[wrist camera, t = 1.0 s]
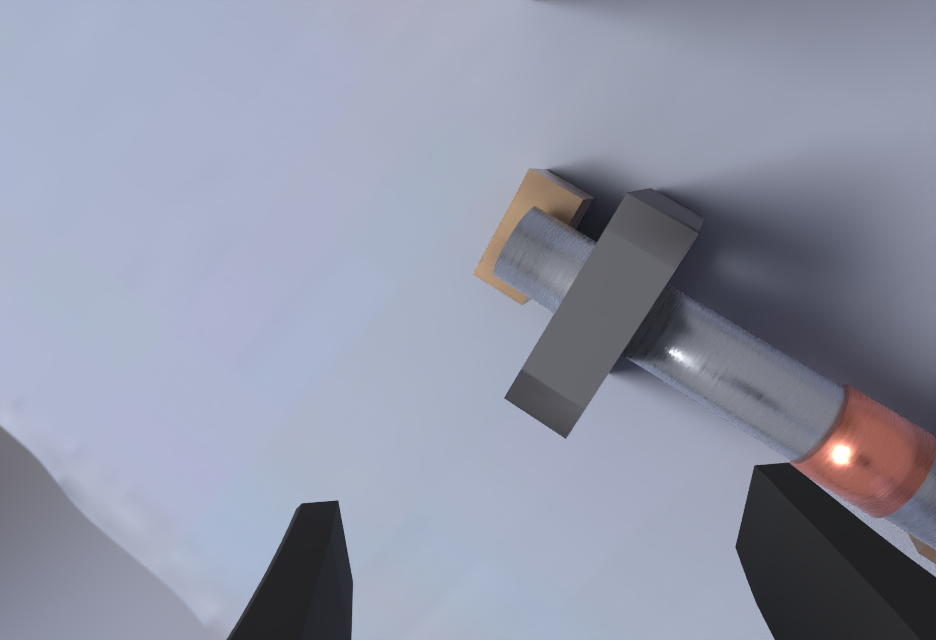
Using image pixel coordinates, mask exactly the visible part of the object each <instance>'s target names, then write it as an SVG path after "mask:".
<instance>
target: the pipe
mask: <svg viewBox="0 0 936 640" xmlns="http://www.w3.org/2000/svg"><path fill="white" fill-rule="evenodd" d="M594 198H595V197H593V196H591V195H589V194H588V193H586V192H584V191H583V190H581V189H579V188H577V187H576V186H574V185H572V184H570V183H569V182H567V181H565V180H564V179H562V178H560V177H558V176H557V175H555V174H553V173H551V172H550V171H548V170H546V169H529V171H528V172H527V174H526V176H525V178H524V180H523V182H522V184H521V185H520V187H519V189H518V191H517V193H516V195H515V197H514V198H513V200H512V202H511V204H510V206H509V208H508V210H507V211H506V213H505V215H504V217H503V219H502V221H501V223H500V224H499V226H498V228H497V230H496V232H495V234H494V236H493V237H492V239H491V241H490V243H489V245H488V247H487V249H486V251H485V252H484V254H483V256H482V258H481V260H480V262H479V264H478V265H477V267H476V269H475V271H474V273H473V275H475V276H476V277H478V278H480V279H481V280H483V281H484V282H486V283H488V284H489V285H491V286H492V287H494V288H496V289H497V290H499V291H500V292H502V293H504V294H505V295H507V296H508V297H510V298H512V299H513V300H515V301H516V302H518V303H520V304H521V305H523V304H525V303H526V302H528V301H529V300H531V299H532V300H534V301H536V302H537V303H539V304H540V305H542V306H544V307H545V308H547V309H548V310H550V311H552V312H553V313H555V312H556V310H557V309H558V307H559V305H560V304H561V302H562V300H563V299H564V297H565V295H566V294H567V292H568V290H569V289H570V287H571V285H572V284H573V282H574V280H575V279H576V277H577V275H578V274H579V272H580V270H581V269H582V267H583V265H584V264H585V262H586V260H587V258H588V257H589V255H590V253H591V252H592V250H593V248H594V247H595V245H596V243H597V242H596V241H594V240H592V239H590V238H589V237H587V236H585V235H584V234H582V233H580V232H579V231H577V230H576V229H577V227H578V225H579V224H580V222H581V220H582V219H583V217H584V215H585V213H586V212H587V210H588V208H589V206H590V205H591V203H592V201H593V200H594ZM621 355H623V356H624V357H626V358H627V359H629V360H631V361H632V362H634V363H635V364H637V365H639V366H640V367H642V368H643V369H645V370H647V371H648V372H650V373H651V374H653V375H655V376H656V377H658V378H660V379H661V380H663V381H664V382H666V383H668V384H669V385H671V386H672V387H674V388H676V389H677V390H679V391H680V392H682V393H684V394H685V395H687V396H688V397H690V398H692V399H693V400H695V401H697V402H698V403H700V404H701V405H703V406H705V407H706V408H708V409H709V410H711V411H713V412H714V413H716V414H717V415H719V416H721V417H722V418H724V419H726V420H727V421H729V422H730V423H732V424H734V425H735V426H737V427H738V428H740V429H742V430H743V431H745V432H746V433H748V434H750V435H751V436H753V437H754V438H756V439H758V440H759V441H761V442H763V443H764V444H766V445H767V446H769V447H771V448H772V449H774V450H775V451H777V452H779V453H780V454H782V455H783V456H785V457H787V458H788V459H790V464H791V465H793V466H794V467H795V468H796V469H798V470H799V471H800V472H802V473H803V474H804V475H806V476H807V477H809V478H810V479H812V480H814V481H815V482H817V483H818V484H820V485H822V486H823V487H825V488H826V489H828V490H830V491H831V492H833V493H835V494H836V495H838V496H839V497H841V498H843V499H844V500H846V501H847V502H849V503H851V504H852V505H854V506H855V507H857V508H859V509H860V510H862V511H863V512H865V513H867V514H868V515H870V516H872V517H874V518H882V517H883V518H885V519H886V520H888V521H890V522H891V523H893V524H894V525H896V526H898V527H899V528H901V529H903V530H904V531H906V532H907V533H908V534H909V536H910V538H911V540H912V542H913V543H914V545H915V547H916V549H917V551H918V553H919V554H921V555H923V556H924V557H926V558H927V559H929V560H931V561H932V562H934V563H935V564H936V438H935V436H934V435H933V434H931V433H930V432H928V431H926V430H925V429H923V428H921V427H919V426H918V425H916V424H914V423H913V422H911V421H909V420H908V419H906V418H904V417H902V416H901V415H899V414H897V413H896V412H894V411H892V410H891V409H889V408H887V407H886V406H884V405H882V404H880V403H879V402H877V401H875V400H874V399H872V398H870V397H869V396H867V395H865V394H863V393H862V392H860V391H858V390H857V389H855V388H853V387H852V386H850V385H844V386H839V385H837V384H836V383H834V382H832V381H831V380H829V379H827V378H826V377H824V376H822V375H821V374H819V373H817V372H815V371H814V370H812V369H810V368H809V367H807V366H805V365H804V364H802V363H800V362H799V361H797V360H795V359H793V358H792V357H790V356H788V355H787V354H785V353H783V352H782V351H780V350H778V349H777V348H775V347H773V346H771V345H770V344H768V343H766V342H765V341H763V340H761V339H760V338H758V337H756V336H755V335H753V334H751V333H749V332H748V331H746V330H744V329H743V328H741V327H739V326H738V325H736V324H734V323H733V322H731V321H729V320H727V319H726V318H724V317H722V316H721V315H719V314H717V313H716V312H714V311H712V310H711V309H709V308H707V307H705V306H704V305H702V304H700V303H699V302H697V301H695V300H694V299H692V298H690V297H689V296H687V295H685V294H683V293H682V292H680V291H678V290H677V289H675V288H673V287H672V286H670V285H668V284H666V286H665V287H664V289H663V290H662V292H661V293H660V295H659V296H658V298H657V299H656V301H655V302H654V304H653V306H652V307H651V309H650V310H649V312H648V313H647V315H646V316H645V318H644V319H643V321H642V322H641V324H640V326H639V327H638V329H637V330H636V332H635V333H634V335H633V336H632V338H631V339H630V341H629V342H628V344H627V346H626V347H625V349H624V350H623V352H622V353H621Z"/></svg>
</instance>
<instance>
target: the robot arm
mask: <svg viewBox="0 0 936 640" xmlns="http://www.w3.org/2000/svg"><path fill="white" fill-rule="evenodd" d="M736 550H737V553H738V555H739V558H740V561H741V564H742V567H743V569H744V572H745V575H746V578H747V580H748V583H749V586H750V588H751V591H752V593H753V596H754V598H755V601H756V603H757V605H758V607H759V609H760V611H761V613H762V615H763V617H764V619H765V621H766V623H767V625H768V627H769V629H770V631H771V633H772V635H773V637H774V639H775V640H936V577H935V576H933V575H932V574H931V573H929V572H928V571H927V570H925V569H924V568H922V567H921V566H920V565H918V564H917V563H916V562H914V561H913V560H912V559H910V558H909V557H908V556H906V555H905V554H904V553H902V552H901V551H900V550H898V549H897V548H896V547H895V546H893V545H892V544H891V543H889V542H888V541H887V540H885V539H884V538H883V537H882V536H880V535H879V534H878V533H876V532H875V531H874V530H873V529H871V528H870V527H869V526H868V525H866V524H865V523H864V522H863V521H861V520H860V519H859V518H858V517H856V516H855V515H854V514H853V513H851V512H850V511H849V510H848V509H846V508H845V507H844V506H843V505H841V504H840V503H839V502H838V501H836V500H835V499H834V498H833V497H831V496H830V495H829V494H828V493H826V492H825V491H824V490H823V489H822V488H820V487H819V486H818V485H817V484H815V483H814V482H813V481H812V480H810V479H809V478H808V477H807V476H805V475H804V474H803V473H802V472H800V471H799V470H798V469H796V468H795V467H794V466H793V465H791V464H790V463H779V464H767V465H755V466H754V470H753V474H752V479H751V483H750V487H749V492H748V496H747V500H746V504H745V509H744V513H743V517H742V522H741V526H740V530H739V534H738V539H737V543H736ZM352 596H353V580H352V574H351V569H350V563H349V558H348V552H347V547H346V541H345V536H344V530H343V524H342V519H341V513H340V508H339V502H338V501H326V502H314V503H302V504H301V505H300V506H299V507H298V508H297V509H296V511H295V513H294V515H293V518H292V520H291V522H290V525H289V527H288V529H287V531H286V533H285V535H284V537H283V540H282V542H281V544H280V546H279V548H278V550H277V552H276V554H275V556H274V558H273V559H272V561H271V563H270V565H269V567H268V569H267V571H266V573H265V575H264V577H263V578H262V580H261V582H260V584H259V586H258V587H257V589H256V591H255V593H254V594H253V596H252V598H251V600H250V601H249V603H248V605H247V607H246V609H245V610H244V612H243V614H242V616H241V617H240V619H239V621H238V622H237V624H236V626H235V627H234V629H233V630H232V632H231V633H230V635H229V637H228V638H227V640H351V631H352Z"/></svg>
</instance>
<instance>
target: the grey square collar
mask: <svg viewBox="0 0 936 640" xmlns="http://www.w3.org/2000/svg"><path fill="white" fill-rule="evenodd" d="M703 221H704V218H703V217H701V216H699V215H698V214H696V213H694V212H692V211H691V210H689V209H687V208H685V207H683V206H682V205H680V204H678V203H676V202H675V201H673V200H671V199H669V198H667V197H666V196H664V195H662V194H660V193H659V192H657V191H655V190H653V189H652V188H649V189H644V190H639V191H634V192H628V193H626V195H625V197H624V198H623V200H622V202H621V203H620V205H619V207H618V208H617V210H616V212H615V213H614V215H613V217H612V218H611V220H610V222H609V223H608V225H607V227H606V228H605V230H604V232H603V233H602V235H601V237H600V238H599V240H598V242H597V243H596V245H595V247H594V248H593V250H592V252H591V253H590V255H589V257H588V258H587V260H586V262H585V264H584V265H583V267H582V269H581V270H580V272H579V274H578V275H577V277H576V279H575V280H574V282H573V284H572V285H571V287H570V289H569V290H568V292H567V294H566V295H565V297H564V299H563V300H562V302H561V304H560V305H559V307H558V309H557V310H556V312H555V314H554V315H553V317H552V319H551V320H550V322H549V324H548V325H547V327H546V329H545V331H544V332H543V334H542V336H541V337H540V339H539V341H538V342H537V344H536V346H535V347H534V349H533V351H532V352H531V354H530V356H529V357H528V359H527V361H526V362H525V364H524V366H523V367H522V369H521V371H520V372H519V374H518V376H517V377H516V379H515V381H514V382H513V384H512V386H511V387H510V389H509V391H508V392H507V394H506V396H505V399H506V400H508V401H509V402H511V403H512V404H514V405H515V406H517V407H518V408H520V409H521V410H523V411H525V412H526V413H528V414H529V415H531V416H532V417H534V418H535V419H537V420H538V421H540V422H541V423H543V424H544V425H546V426H547V427H549V428H550V429H552V430H553V431H555V432H556V433H558V434H559V435H561V436H562V437H564V438H567V436H568V435H569V433H570V432H571V430H572V429H573V427H574V425H575V424H576V422H577V421H578V419H579V418H580V416H581V415H582V413H583V412H584V410H585V409H586V407H587V405H588V404H589V402H590V401H591V399H592V398H593V396H594V395H595V393H596V392H597V390H598V389H599V387H600V385H601V384H602V382H603V381H604V379H605V378H606V376H607V375H608V373H609V372H610V370H611V369H612V367H613V366H614V364H615V362H616V361H617V359H618V358H619V356H620V355H621V353H622V352H623V350H624V349H625V347H626V346H627V344H628V342H629V341H630V339H631V338H632V336H633V335H634V333H635V332H636V330H637V329H638V327H639V326H640V324H641V322H642V321H643V319H644V318H645V316H646V315H647V313H648V312H649V310H650V309H651V307H652V306H653V304H654V302H655V301H656V299H657V298H658V296H659V295H660V293H661V292H662V290H663V289H664V287H665V286H666V284H667V282H668V281H669V279H670V278H671V276H672V275H673V273H674V272H675V270H676V269H677V267H678V266H679V264H680V262H681V261H682V259H683V258H684V256H685V255H686V253H687V252H688V250H689V249H690V247H691V246H692V244H693V242H694V241H695V239H696V238H697V236H698V235H699V233H700V230H701V227H702V224H703Z"/></svg>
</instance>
